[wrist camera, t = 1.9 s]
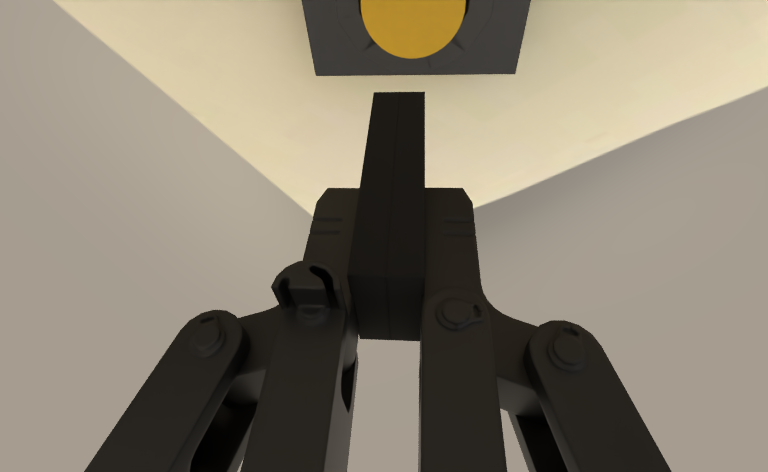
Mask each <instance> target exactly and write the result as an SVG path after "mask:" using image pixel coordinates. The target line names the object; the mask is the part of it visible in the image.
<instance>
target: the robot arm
mask: <svg viewBox="0 0 768 472" xmlns="http://www.w3.org/2000/svg"><path fill="white" fill-rule="evenodd" d="M271 288H272V290H273V292H274V294H275V296H276V298H277V300H278V302H279V305H277V306H276V307H274V308H271V309H269V310H266V311H263V312H259V313H255V314H252V315H248V316H244V317H241V318H237V317H236V316H235V315H233V314H231V313H230V312H228V311H223V310H212V311H208V312H204V313H201V314H200V315H198V316H196V317H195V318H193V319H191V320H190V321H189V322H188V323H187V324H186V325H185V326H184V327H183V328H182V329H181V330H180V332H179V333H178V335H177V336H176V338H175V339H174V341H173V342H172V344H171V345H170V346H169V348H168V349H167V351H166V353H165V354H164V355H163V357H162V358H161V360H160V361H159V363H158V364H157V365H156V367H155V369H154V370H153V372H152V373H151V374H150V376H149V377H148V379H147V380H146V382H145V383H144V385H143V386H142V387H141V389H140V390H139V392H138V393H137V395H136V396H135V398H134V399H133V401H132V402H131V404H130V405H129V407H128V408H127V410H126V411H125V413H124V414H123V415H122V417H121V418H120V420H119V421H118V423H117V424H116V426H115V427H114V429H113V430H112V432H111V433H110V434H109V436H108V437H107V439H106V440H105V442H104V443H103V445H102V446H101V448H100V449H99V451H98V452H97V454H96V455H95V457H94V458H93V460H92V461H91V462H90V464H89V465H88V467H87V468H86V470H85V471H84V472H237V470H238V468H239V466H240V464H241V462H242V460H243V458H244V460H243V464H242V467H241V471H240V472H347V465H348V456H349V446H350V437H351V428H352V418H353V409H354V398H355V389H356V380H357V370H358V356H357V343H358V334H359V336H360V339H378V340H404V341H420V367H419V454H418V458H419V459H418V472H507V467H506V457H505V448H504V440H503V432H502V422H501V413H500V408H501V409H503V410H506V411H508V414H509V417H510V420H511V422H512V425H513V428H514V431H515V434H516V436H517V439H518V442H519V445H520V448H521V450H522V453H523V456H524V459H525V462H526V464H527V467H528V470H529V472H671V470H670V468H669V466H668V465H667V463H666V461H665V459H664V458H663V456H662V454H661V452H660V450H659V448H658V447H657V445H656V443H655V442H654V440H653V438H652V436H651V434H650V432H649V431H648V429H647V427H646V425H645V423H644V422H643V420H642V418H641V416H640V415H639V413H638V411H637V409H636V407H635V405H634V404H633V402H632V400H631V398H630V397H629V395H628V393H627V391H626V389H625V388H624V386H623V384H622V382H621V381H620V379H619V377H618V375H617V373H616V372H615V370H614V368H613V366H612V364H611V363H610V361H609V359H608V357H607V355H606V354H605V352H604V350H603V348H602V346H601V345H600V344H599V343H598V341H597V340H596V339H595V337H594V336H593V335H592V334H591V333H590V332H588V331H587V330H585V329H584V328H582V327H581V326H579V325H577V324H574V323H571V322H568V321H549V322H547V323H544V324H542V325H540V326H539V327H537V326H534V325H531V324H528V323H525V322H522V321H519V320H516V319H513V318H511V317H509V316H506V315H504V314H502V313H501V312H500V311H498V310H497V309H495V308H494V307H493V306H492V305H491V304H490V303H489V301H488V300H487V299H486V297H485V295H484V293H483V290H482V286H481V279H480V270H479V260H478V251H477V242H476V236H475V223H474V214H473V204H472V201H471V200H470V198H469V197H468V195H467V194H466V192H465V191H464V189H463V188H425V92H374V96H373V103H372V109H371V116H370V123H369V130H368V136H367V143H366V150H365V156H364V163H363V170H362V177H361V183H360V188H328V189H327V190H326V191H325V192H324V194H323V195H322V196H321V197H320V199H319V200H318V201H317V203H316V208H315V212H314V216H313V221H312V225H311V228H310V234H309V237H308V241H307V245H306V250H305V254H304V258H303V261H299V262H296V263H294V264H292V265H290V266H288V267H286V268H285V269H284V270H283V271H282V272H281V273H279V274H278V276H276V278H275V280H274V282H273V284H272V286H271Z"/></svg>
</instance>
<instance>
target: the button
mask: <svg viewBox="0 0 768 472" xmlns="http://www.w3.org/2000/svg"><path fill="white" fill-rule="evenodd" d="M465 7H466V0H361V13H362V18H363V22H364V24H365V27H366V29H367V31H368V33H369V35H370V36H371V37H372V39H373V40H374V41H375V42H376V43H377V44H378V45H379V46H380V47H381V48H382V49H384V50H385V51H387V52H388V53H390V54H393V55H395V56H398V57H402V58H411V59H413V58H421V57H426V56H429V55H431V54H433V53H435V52H437V51H439V50H440V49H442V48H443V47H444V46H446V45H447V44H448V43H449V42H450V41H451V40H452V38H453V37H454V36H455V34H456V33H457V31H458V29H459V27H460V25H461V23H462V20H463V17H464V13H465Z"/></svg>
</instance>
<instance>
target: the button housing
mask: <svg viewBox="0 0 768 472" xmlns="http://www.w3.org/2000/svg"><path fill="white" fill-rule="evenodd" d="M530 2H531V0H466V7H465V13H464V17H463V20H462V23H461V25H460V27H459V29H458V31H457V33H456V34H455V36H454V37H453V38H452V40H451V41H450V42H449V43H448V44H447V45H446V46H444V47H443V48H442V49H440V50H439V51H437V52H435V53H433V54H431V55H429V56H426V57H421V58H413V59H411V58H402V57H398V56H395V55H393V54H390V53H388V52H387V51H385V50H384V49H382V48H381V47H380V46H379V45H378V44H377V43H376V42H375V41H374V40H373V39H372V37H371V36H370V35H369V33H368V31H367V29H366V27H365V24H364V22H363V18H362V13H361V0H302V5H303V10H304V15H305V21H306V26H307V31H308V36H309V42H310V47H311V52H312V58H313V63H314V68H315V73H316V76H351V75H455V74H515V72H516V67H517V63H518V58H519V53H520V49H521V44H522V39H523V34H524V30H525V25H526V20H527V16H528V11H529V6H530Z"/></svg>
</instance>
